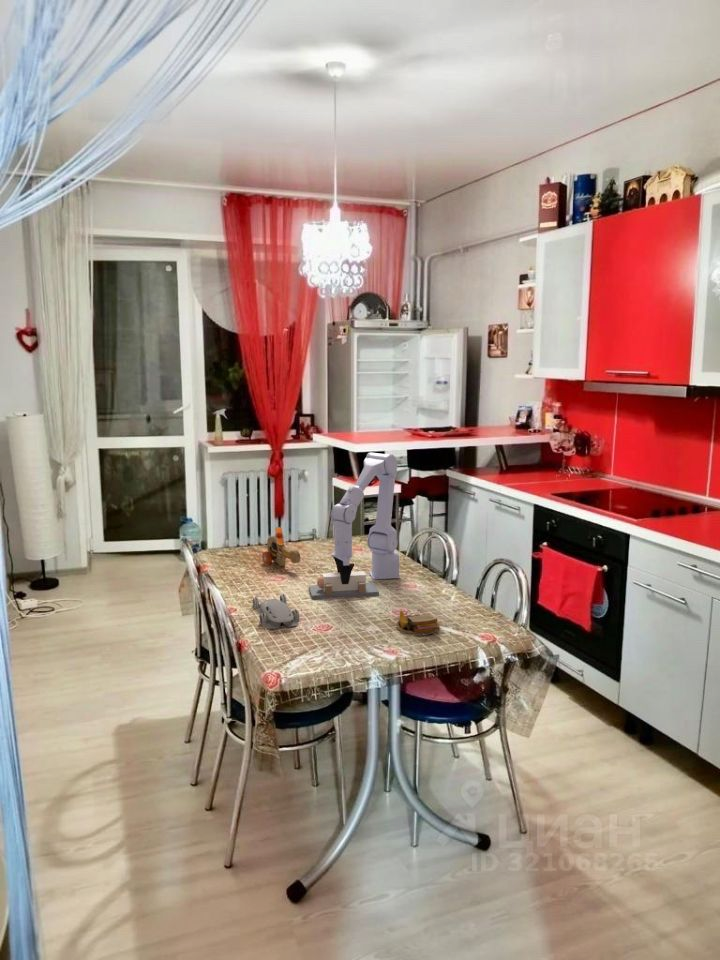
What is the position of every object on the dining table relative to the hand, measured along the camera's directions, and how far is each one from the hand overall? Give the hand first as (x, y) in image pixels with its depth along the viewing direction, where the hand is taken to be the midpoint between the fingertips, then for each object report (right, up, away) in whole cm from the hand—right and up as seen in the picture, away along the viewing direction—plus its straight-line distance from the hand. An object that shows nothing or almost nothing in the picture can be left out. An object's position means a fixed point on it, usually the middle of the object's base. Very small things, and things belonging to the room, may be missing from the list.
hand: (343, 580), depth 239 cm
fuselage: (-1, -3, 0) cm, 3 cm away
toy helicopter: (-23, +1, +30) cm, 38 cm away
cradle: (0, -4, +1) cm, 4 cm away
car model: (-20, -9, -21) cm, 30 cm away
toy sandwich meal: (+23, -10, -30) cm, 39 cm away
